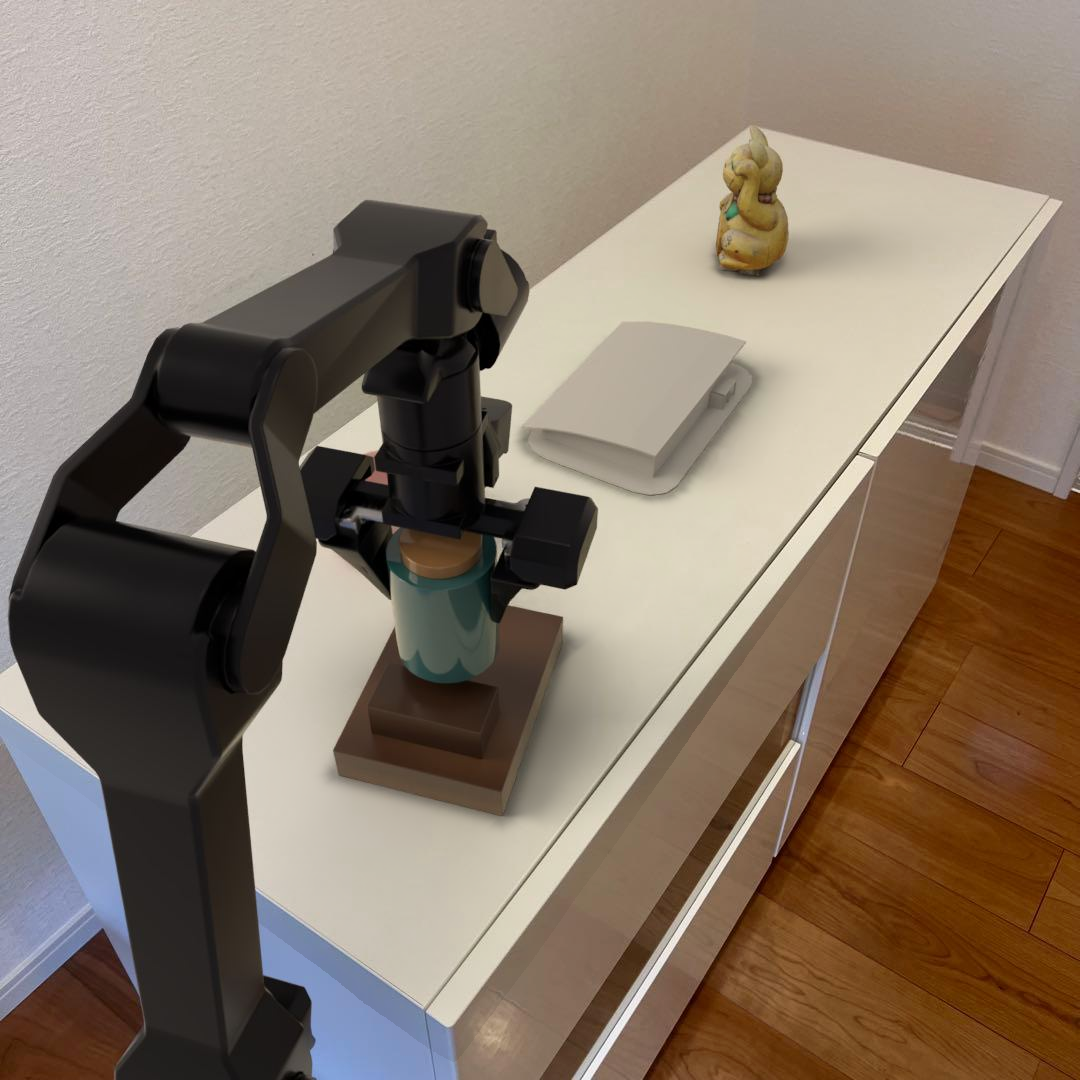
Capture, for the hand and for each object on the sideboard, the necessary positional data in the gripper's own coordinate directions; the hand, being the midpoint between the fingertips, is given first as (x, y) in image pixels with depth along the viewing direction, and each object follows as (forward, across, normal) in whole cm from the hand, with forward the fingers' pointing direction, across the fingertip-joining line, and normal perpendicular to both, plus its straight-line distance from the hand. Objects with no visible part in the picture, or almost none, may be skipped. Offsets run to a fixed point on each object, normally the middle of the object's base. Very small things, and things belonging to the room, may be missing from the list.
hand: (446, 606), depth 71 cm
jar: (-1, 0, 0) cm, 1 cm away
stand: (+11, 0, 0) cm, 11 cm away
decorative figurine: (+11, -12, -70) cm, 72 cm away
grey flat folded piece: (+11, -6, -39) cm, 41 cm away
